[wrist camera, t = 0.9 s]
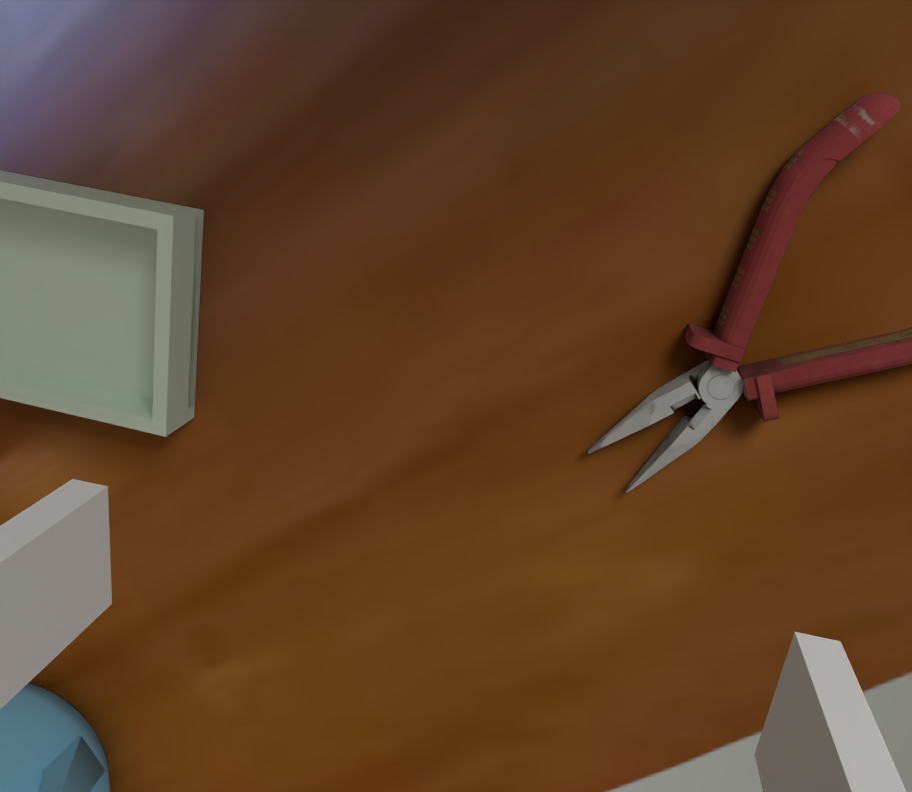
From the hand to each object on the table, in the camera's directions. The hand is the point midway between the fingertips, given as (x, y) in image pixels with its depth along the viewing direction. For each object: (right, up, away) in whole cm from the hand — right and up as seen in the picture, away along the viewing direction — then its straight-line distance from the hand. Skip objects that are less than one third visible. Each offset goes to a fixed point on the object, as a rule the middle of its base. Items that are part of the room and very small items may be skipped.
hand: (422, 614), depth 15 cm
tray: (-21, +10, +28) cm, 37 cm away
